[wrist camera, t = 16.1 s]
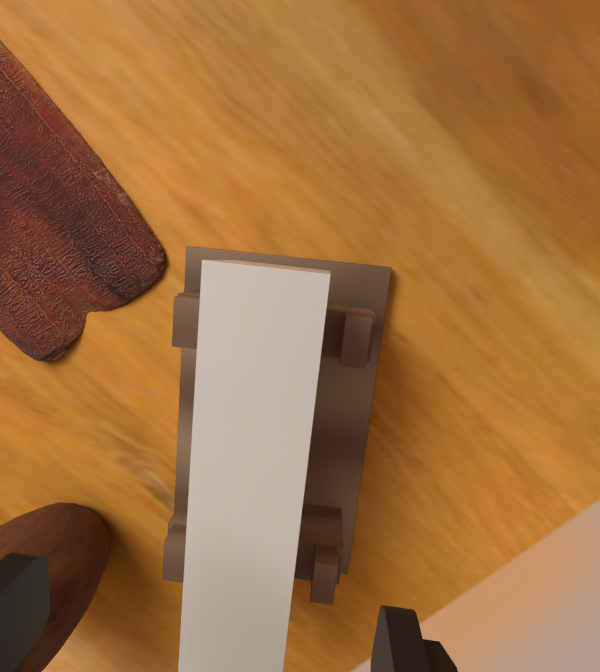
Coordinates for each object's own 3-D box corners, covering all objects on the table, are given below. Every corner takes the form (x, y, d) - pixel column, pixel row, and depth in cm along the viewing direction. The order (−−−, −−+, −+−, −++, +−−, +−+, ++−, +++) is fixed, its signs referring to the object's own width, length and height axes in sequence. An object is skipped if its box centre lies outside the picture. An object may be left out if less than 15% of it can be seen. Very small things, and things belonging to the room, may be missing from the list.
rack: (190, 246, 20) (148, 242, 15) (389, 267, 20) (409, 269, 15) (176, 541, 23) (138, 613, 19) (346, 566, 23) (351, 645, 18)
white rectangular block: (233, 259, 16) (201, 259, 12) (330, 270, 16) (330, 274, 12) (209, 589, 20) (177, 677, 15) (290, 601, 19) (279, 694, 15)
